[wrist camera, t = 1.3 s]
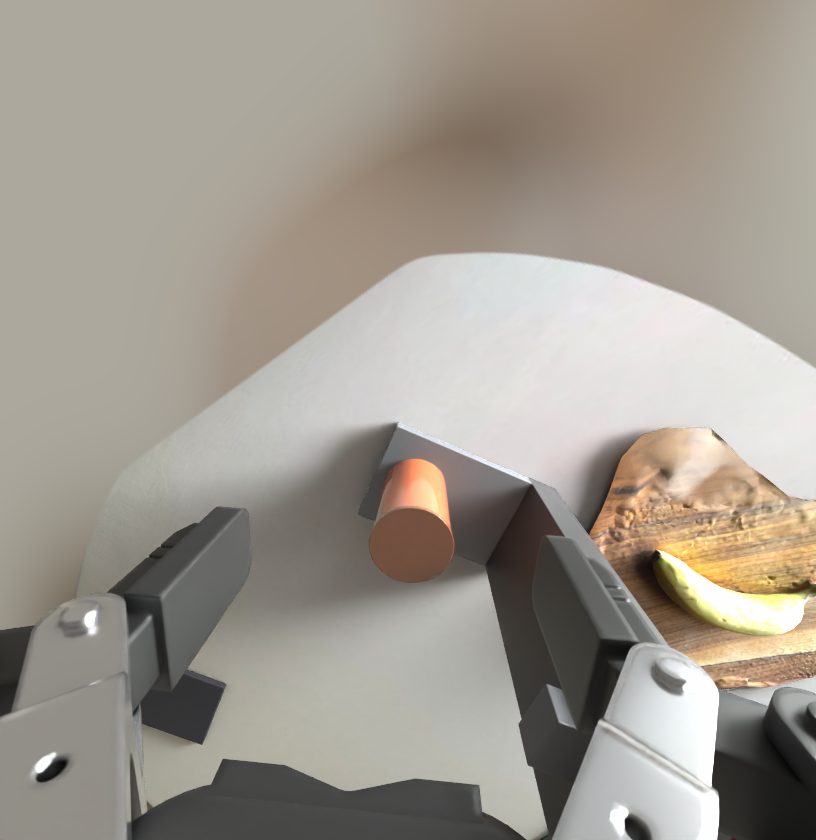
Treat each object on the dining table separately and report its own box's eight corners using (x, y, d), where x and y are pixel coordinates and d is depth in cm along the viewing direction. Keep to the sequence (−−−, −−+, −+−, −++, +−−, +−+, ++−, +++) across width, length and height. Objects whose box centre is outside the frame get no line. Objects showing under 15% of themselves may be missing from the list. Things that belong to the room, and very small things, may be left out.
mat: (128, 713, 50) (124, 717, 50) (146, 654, 47) (142, 658, 47) (204, 740, 51) (201, 745, 50) (226, 684, 48) (224, 688, 48)
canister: (373, 502, 39) (356, 564, 30) (397, 447, 38) (388, 494, 28) (430, 525, 40) (432, 594, 30) (457, 472, 38) (468, 527, 29)
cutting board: (510, 623, 44) (518, 651, 41) (638, 398, 37) (662, 408, 33) (787, 723, 46) (818, 759, 43) (959, 530, 39) (1014, 552, 36)
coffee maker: (359, 507, 41) (259, 813, 16) (398, 421, 39) (348, 628, 14) (508, 568, 42) (630, 941, 17) (555, 488, 40) (777, 793, 15)
